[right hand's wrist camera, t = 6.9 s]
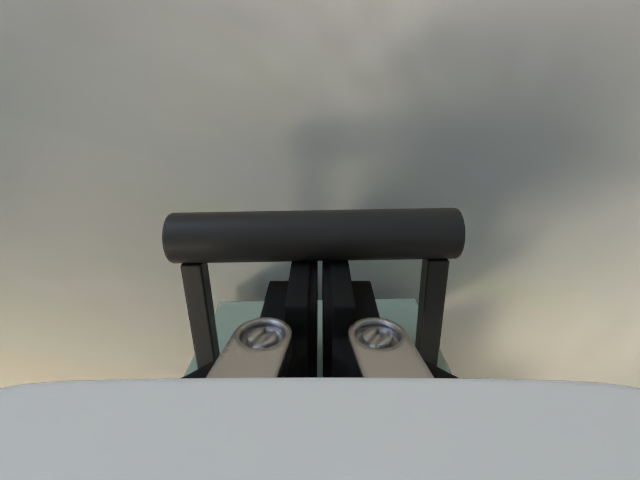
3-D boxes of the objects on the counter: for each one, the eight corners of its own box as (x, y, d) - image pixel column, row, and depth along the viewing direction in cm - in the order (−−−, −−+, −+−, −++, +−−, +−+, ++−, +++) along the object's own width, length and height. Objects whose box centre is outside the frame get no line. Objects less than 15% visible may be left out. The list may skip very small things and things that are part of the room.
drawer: (204, 181, 14) (126, 236, 8) (425, 177, 14) (499, 230, 8) (246, 499, 20) (217, 656, 15) (398, 497, 20) (430, 653, 15)
